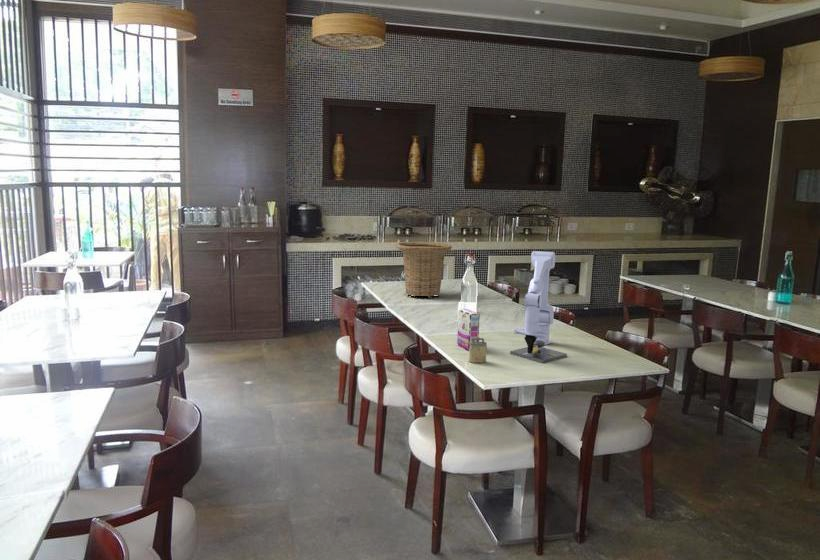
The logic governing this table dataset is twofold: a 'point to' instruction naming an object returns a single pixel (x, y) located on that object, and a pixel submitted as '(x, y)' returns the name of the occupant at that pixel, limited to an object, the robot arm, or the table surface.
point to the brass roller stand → (536, 345)
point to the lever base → (539, 354)
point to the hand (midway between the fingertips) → (530, 352)
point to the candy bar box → (467, 327)
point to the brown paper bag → (477, 351)
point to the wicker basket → (423, 266)
